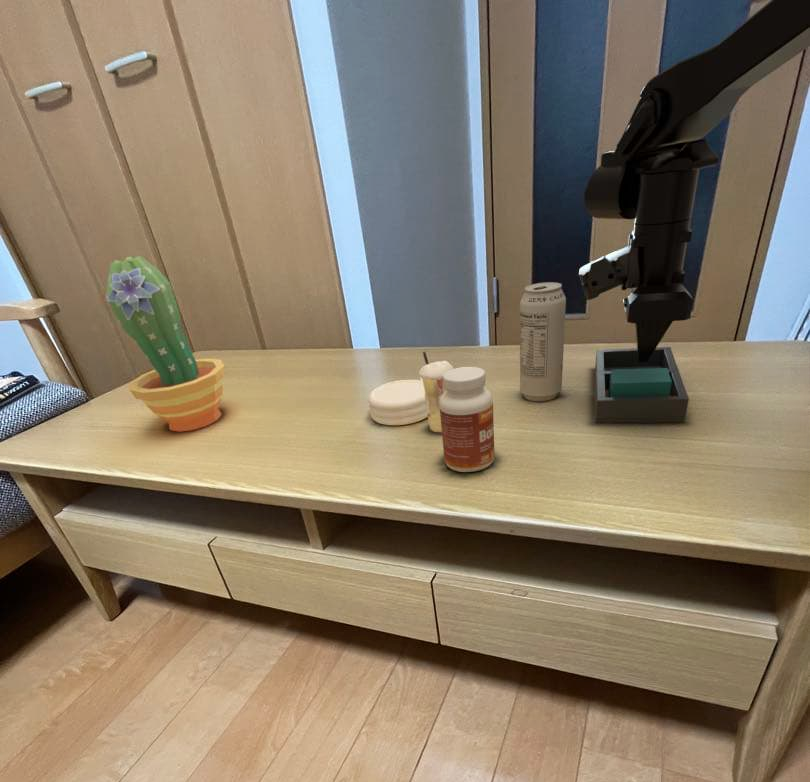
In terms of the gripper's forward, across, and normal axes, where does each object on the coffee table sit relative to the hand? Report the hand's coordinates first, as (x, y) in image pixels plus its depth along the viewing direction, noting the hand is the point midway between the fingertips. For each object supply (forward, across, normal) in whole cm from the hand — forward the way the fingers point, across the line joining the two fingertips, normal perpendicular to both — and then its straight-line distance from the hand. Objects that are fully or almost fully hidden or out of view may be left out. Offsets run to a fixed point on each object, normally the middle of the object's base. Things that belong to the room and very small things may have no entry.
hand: (642, 361), depth 66 cm
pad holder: (+6, -5, 0) cm, 8 cm away
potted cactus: (+6, +3, -70) cm, 70 cm away
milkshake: (+6, +6, -26) cm, 27 cm away
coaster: (+6, +1, -33) cm, 34 cm away
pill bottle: (+6, +16, -20) cm, 26 cm away
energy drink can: (+6, -5, -13) cm, 15 cm away
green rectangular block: (+5, 0, 0) cm, 5 cm away
